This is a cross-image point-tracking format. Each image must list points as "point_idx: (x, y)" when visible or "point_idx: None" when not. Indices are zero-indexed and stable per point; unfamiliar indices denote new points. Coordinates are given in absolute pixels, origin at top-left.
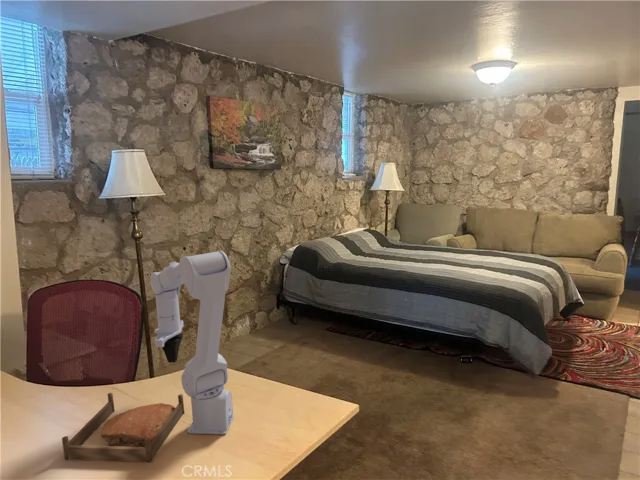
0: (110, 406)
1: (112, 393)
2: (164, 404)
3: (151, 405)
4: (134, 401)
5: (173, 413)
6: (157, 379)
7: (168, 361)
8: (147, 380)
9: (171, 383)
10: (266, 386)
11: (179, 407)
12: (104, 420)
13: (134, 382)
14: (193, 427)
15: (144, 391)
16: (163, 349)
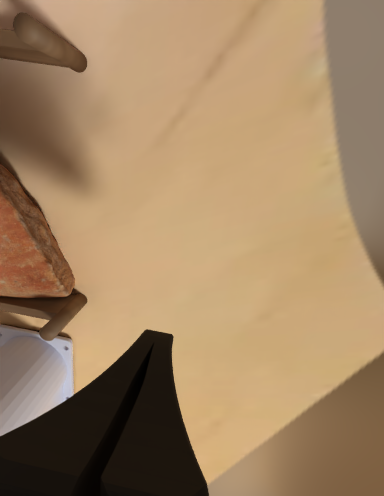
0: (42, 55)
1: (30, 41)
2: (39, 276)
3: (14, 242)
4: (148, 130)
5: (5, 307)
6: (320, 172)
7: (141, 335)
8: (323, 127)
9: (269, 236)
10: (203, 462)
11: (40, 316)
12: (16, 59)
13: (318, 65)
14: (12, 337)
15: (222, 146)
16: (79, 394)
